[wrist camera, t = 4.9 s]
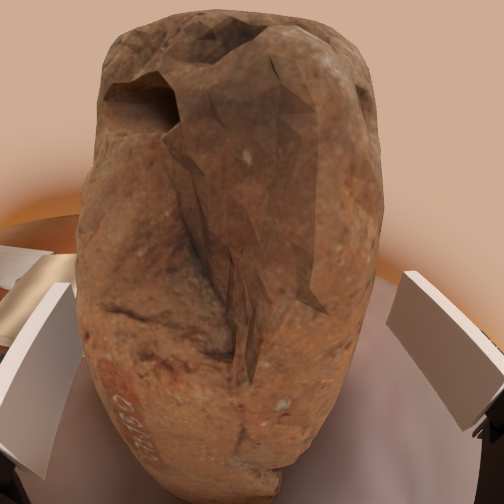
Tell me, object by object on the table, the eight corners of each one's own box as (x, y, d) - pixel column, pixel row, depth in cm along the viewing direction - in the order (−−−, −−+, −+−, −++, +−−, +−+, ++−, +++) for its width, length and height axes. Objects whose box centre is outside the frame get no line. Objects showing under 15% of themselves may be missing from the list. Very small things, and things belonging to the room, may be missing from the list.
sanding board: (-17, 341, 18) (-23, 330, 17) (45, 264, 34) (42, 254, 34) (247, 358, 22) (248, 345, 22) (229, 259, 38) (229, 249, 38)
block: (200, 375, 20) (188, 75, 12) (299, 390, 19) (345, 79, 11) (150, 499, 11) (-7, 31, 2) (282, 527, 10) (457, -37, 1)
